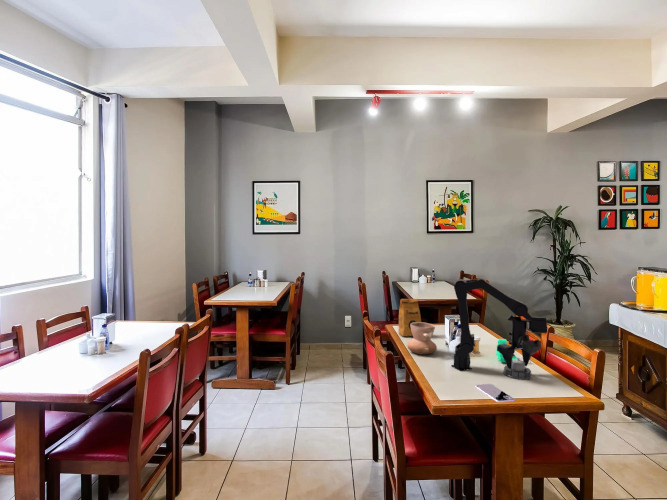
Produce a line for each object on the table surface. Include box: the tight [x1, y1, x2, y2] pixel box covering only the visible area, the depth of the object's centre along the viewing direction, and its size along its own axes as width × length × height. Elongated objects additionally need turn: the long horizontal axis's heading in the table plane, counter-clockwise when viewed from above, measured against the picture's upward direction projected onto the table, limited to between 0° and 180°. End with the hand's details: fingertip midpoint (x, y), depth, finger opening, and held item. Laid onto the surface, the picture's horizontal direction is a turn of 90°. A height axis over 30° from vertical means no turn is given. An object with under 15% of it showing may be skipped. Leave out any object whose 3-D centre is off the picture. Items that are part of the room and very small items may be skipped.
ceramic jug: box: [406, 321, 438, 355], centre depth 190 cm, size 18×14×14 cm
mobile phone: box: [474, 383, 516, 403], centre depth 141 cm, size 8×1×15 cm
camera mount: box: [495, 338, 519, 363], centre depth 179 cm, size 12×8×10 cm, turn 165°
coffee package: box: [398, 298, 422, 337], centre depth 222 cm, size 10×12×22 cm
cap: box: [511, 359, 526, 372], centre depth 160 cm, size 5×5×5 cm
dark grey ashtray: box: [502, 364, 533, 381], centre depth 160 cm, size 11×11×3 cm
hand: (517, 367), depth 160 cm, fingers open, 9 cm apart
